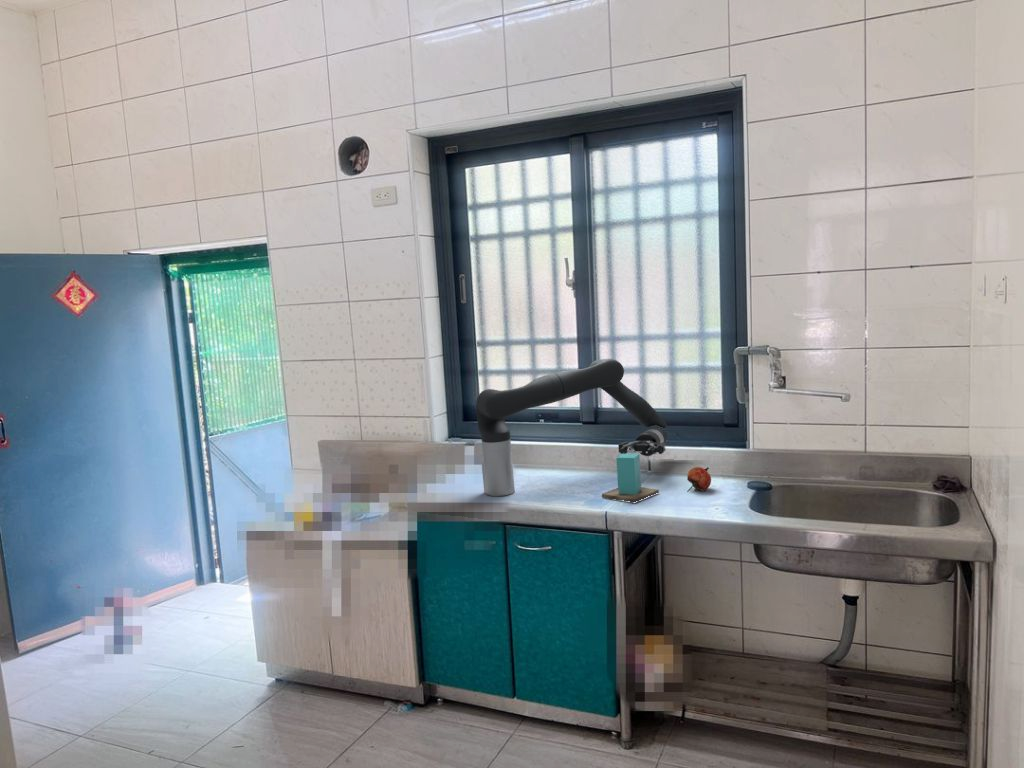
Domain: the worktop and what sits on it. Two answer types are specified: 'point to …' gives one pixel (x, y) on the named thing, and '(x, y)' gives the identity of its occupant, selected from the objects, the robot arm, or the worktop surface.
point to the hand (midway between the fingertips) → (635, 452)
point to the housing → (628, 474)
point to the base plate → (630, 497)
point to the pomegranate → (699, 478)
